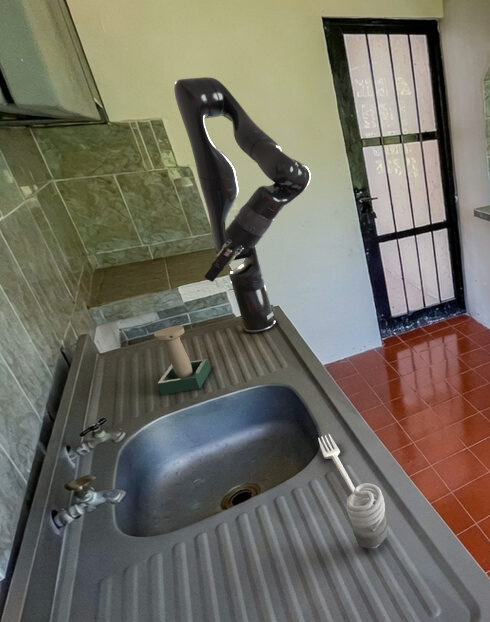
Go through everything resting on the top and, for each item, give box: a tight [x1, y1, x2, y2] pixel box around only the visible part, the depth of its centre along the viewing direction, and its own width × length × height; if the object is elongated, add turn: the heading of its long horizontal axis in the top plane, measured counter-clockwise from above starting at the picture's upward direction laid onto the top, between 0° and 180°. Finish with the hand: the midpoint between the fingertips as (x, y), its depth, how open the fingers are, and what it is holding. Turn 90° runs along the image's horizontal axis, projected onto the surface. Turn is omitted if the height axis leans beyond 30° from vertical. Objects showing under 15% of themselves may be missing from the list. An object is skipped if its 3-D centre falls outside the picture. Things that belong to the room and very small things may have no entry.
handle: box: [153, 325, 193, 378], centre depth 119 cm, size 5×6×15 cm
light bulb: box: [346, 482, 389, 549], centre depth 72 cm, size 6×6×12 cm
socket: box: [156, 358, 212, 395], centre depth 122 cm, size 10×9×4 cm
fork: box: [317, 433, 356, 497], centre depth 91 cm, size 3×20×2 cm, turn 36°
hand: (213, 273), depth 115 cm, fingers open, 8 cm apart
